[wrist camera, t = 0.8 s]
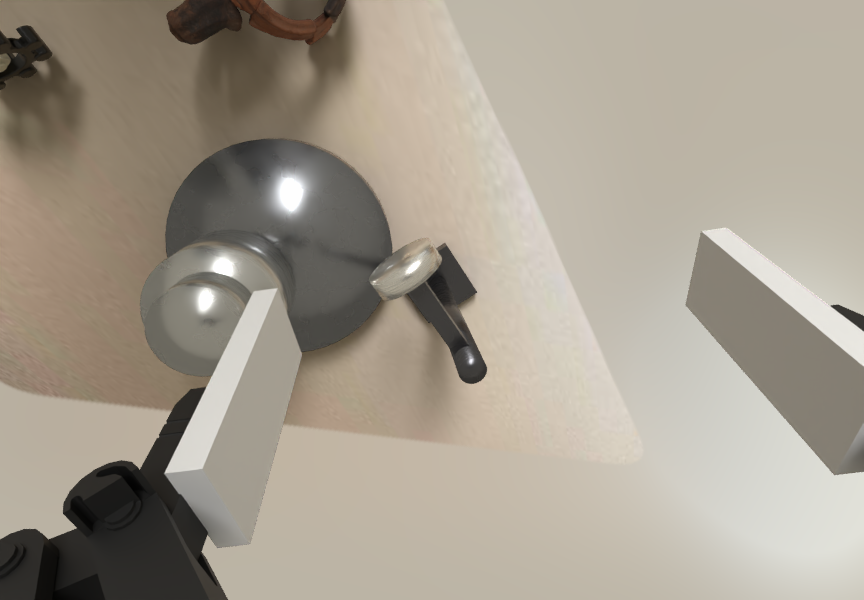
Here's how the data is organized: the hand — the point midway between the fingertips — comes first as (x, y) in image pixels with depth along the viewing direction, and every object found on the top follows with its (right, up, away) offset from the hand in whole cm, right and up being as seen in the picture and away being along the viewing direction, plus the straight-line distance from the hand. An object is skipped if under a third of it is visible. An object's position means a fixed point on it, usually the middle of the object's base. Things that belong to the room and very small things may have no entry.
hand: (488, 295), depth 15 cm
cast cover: (-17, +1, +22) cm, 28 cm away
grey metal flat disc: (-14, +4, +24) cm, 28 cm away
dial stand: (-3, +3, +25) cm, 26 cm away
